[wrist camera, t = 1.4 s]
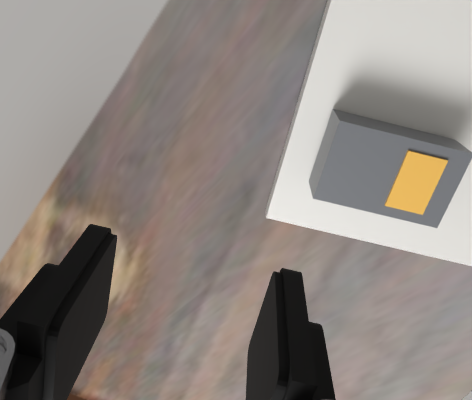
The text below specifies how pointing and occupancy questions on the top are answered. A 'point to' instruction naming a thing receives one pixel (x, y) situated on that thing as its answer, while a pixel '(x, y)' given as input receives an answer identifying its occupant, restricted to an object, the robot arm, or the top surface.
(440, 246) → the white rectangular board
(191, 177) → the top surface
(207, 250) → the top surface
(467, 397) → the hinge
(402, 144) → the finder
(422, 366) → the top surface
